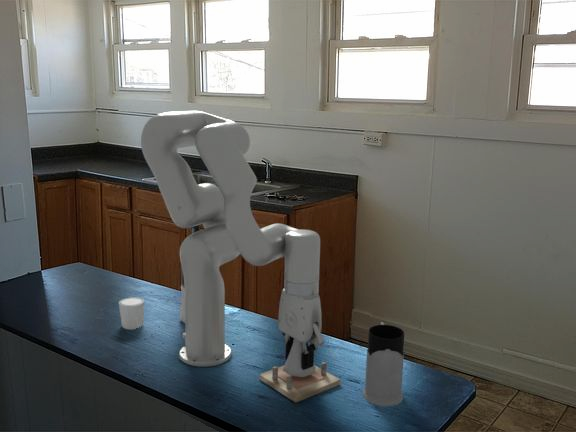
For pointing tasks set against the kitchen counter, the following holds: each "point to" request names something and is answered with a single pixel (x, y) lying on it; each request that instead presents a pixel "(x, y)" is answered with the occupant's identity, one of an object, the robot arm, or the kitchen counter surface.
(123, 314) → the white tapered cylinder
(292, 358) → the flask
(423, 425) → the kitchen counter surface
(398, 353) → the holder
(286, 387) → the four-post base plate
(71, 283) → the kitchen counter surface
